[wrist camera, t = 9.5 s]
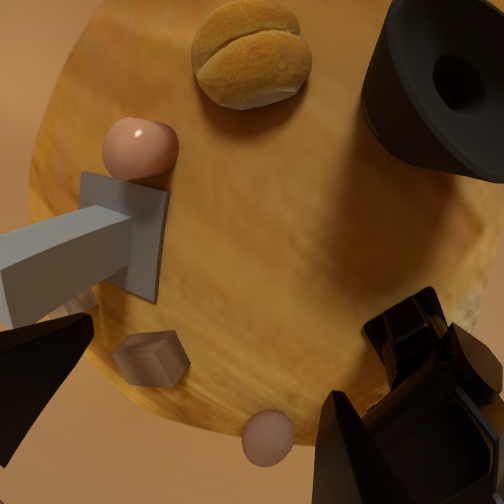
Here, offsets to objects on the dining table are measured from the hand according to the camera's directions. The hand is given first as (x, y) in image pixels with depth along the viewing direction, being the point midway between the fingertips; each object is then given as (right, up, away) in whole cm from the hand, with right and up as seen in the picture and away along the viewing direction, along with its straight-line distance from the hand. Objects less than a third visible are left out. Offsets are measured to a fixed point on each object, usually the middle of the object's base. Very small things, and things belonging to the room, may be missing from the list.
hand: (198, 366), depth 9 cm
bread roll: (+2, +18, +8) cm, 20 cm away
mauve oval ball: (+4, -13, +17) cm, 22 cm away
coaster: (-10, +5, +15) cm, 19 cm away
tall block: (-11, +5, +14) cm, 19 cm away
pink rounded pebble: (-6, +12, +12) cm, 18 cm away
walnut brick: (-8, -6, +18) cm, 20 cm away
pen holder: (+13, +14, +6) cm, 20 cm away
